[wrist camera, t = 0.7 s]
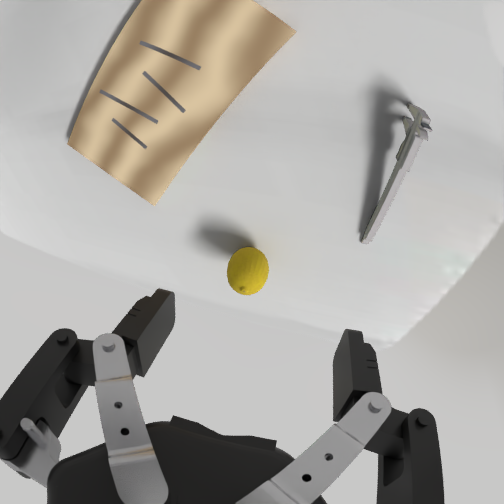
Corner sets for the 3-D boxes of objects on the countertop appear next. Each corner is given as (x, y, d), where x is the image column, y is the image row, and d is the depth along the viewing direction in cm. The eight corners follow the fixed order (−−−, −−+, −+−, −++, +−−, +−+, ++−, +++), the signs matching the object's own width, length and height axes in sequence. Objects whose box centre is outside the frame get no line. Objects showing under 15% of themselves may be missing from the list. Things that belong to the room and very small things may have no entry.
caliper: (406, 101, 27) (427, 114, 23) (413, 104, 27) (436, 117, 23) (360, 241, 40) (368, 271, 36) (367, 242, 40) (375, 272, 36)
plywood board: (73, 140, 35) (67, 144, 33) (179, -39, 19) (174, -42, 18) (158, 200, 40) (154, 206, 39) (296, 32, 24) (296, 31, 23)
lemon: (269, 267, 45) (265, 307, 39) (233, 264, 46) (223, 303, 39) (271, 237, 42) (266, 277, 36) (231, 234, 42) (220, 273, 36)
